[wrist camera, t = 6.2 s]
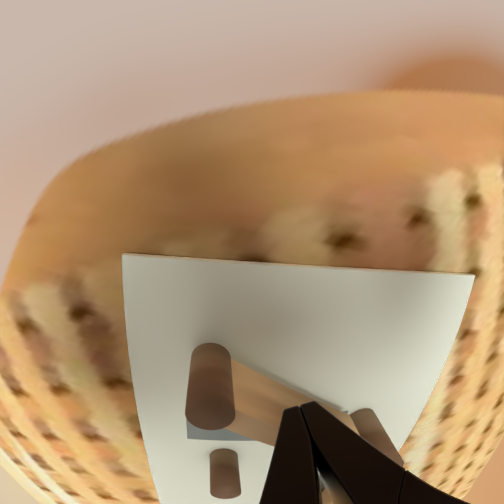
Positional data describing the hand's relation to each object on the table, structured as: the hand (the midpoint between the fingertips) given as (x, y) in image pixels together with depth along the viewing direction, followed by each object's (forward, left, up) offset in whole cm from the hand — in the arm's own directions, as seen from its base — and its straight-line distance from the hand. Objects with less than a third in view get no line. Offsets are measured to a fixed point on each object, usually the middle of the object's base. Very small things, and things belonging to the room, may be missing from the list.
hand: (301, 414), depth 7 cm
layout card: (-8, -3, -6) cm, 10 cm away
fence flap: (-3, -1, -5) cm, 6 cm away
